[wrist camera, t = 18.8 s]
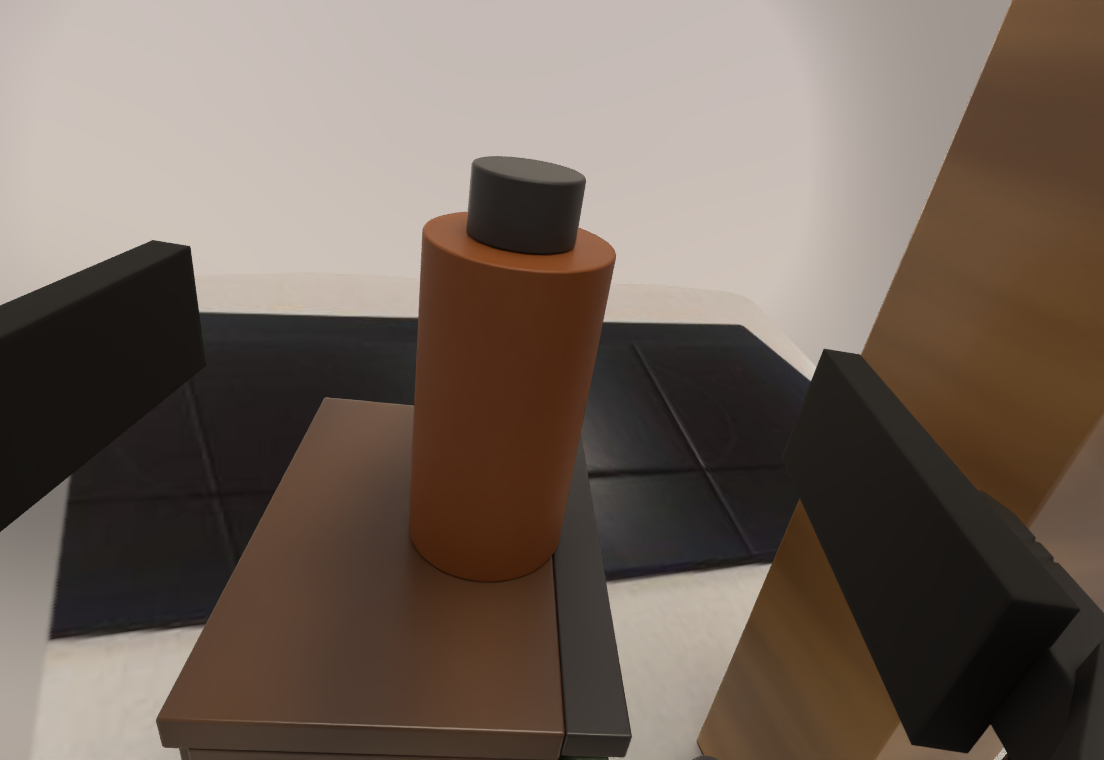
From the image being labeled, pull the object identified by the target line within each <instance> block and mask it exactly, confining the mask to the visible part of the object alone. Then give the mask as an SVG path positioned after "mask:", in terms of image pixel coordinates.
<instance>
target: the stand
mask: <svg viewBox="0 0 1104 760" xmlns="http://www.w3.org/2000/svg"><path fill="white" fill-rule="evenodd" d="M861 356H862V357H863V358H864V359H865V361H866V362H867V363H868V364H869V365H870V366H871V368H872V369H873V370H874V371H875V372H876V373H877V374H878V376H879V377H880V378H881V379H882V380H883V381H884V383H885V384H886V385H887V386H888V387H889V388H890V390H891V391H892V392H893V393H894V394H895V395H896V396H897V398H898V399H899V400H900V401H901V402H902V403H903V405H904V406H905V407H906V408H907V409H908V410H909V411H910V413H911V414H912V415H913V416H914V417H915V418H916V420H917V421H918V422H919V423H920V424H921V425H922V427H923V428H924V429H925V430H926V431H927V432H928V433H929V435H930V436H931V437H932V438H933V439H934V440H935V442H936V443H937V444H938V445H939V446H940V447H941V448H942V450H943V451H944V452H945V453H946V454H947V455H948V457H949V458H950V459H951V460H952V461H953V462H954V464H955V465H956V466H957V467H958V468H959V469H960V470H961V472H962V473H963V474H964V475H965V476H966V477H967V479H968V480H969V481H970V482H971V483H972V484H973V486H974V487H975V488H976V489H977V490H982V491H984V492H986V493H987V494H988V495H990V496H991V497H993V498H994V499H995V500H997V501H998V502H999V503H1001V504H1002V505H1004V506H1005V507H1006V508H1008V509H1009V510H1010V511H1012V512H1013V513H1014V514H1015V515H1016V516H1017V517H1018V518H1019V519H1020V520H1021V521H1022V523H1023V524H1024V525H1025V526H1026V527H1027V528H1028V529H1029V530H1030V531H1031V533H1032V534H1033V535H1034V536H1035V537H1036V539H1035V541H1036V542H1040V543H1041V544H1042V545H1043V546H1044V547H1045V548H1046V549H1047V550H1048V551H1049V553H1050V554H1051V555H1052V556H1053V557H1054V562H1056V563H1059V564H1060V565H1061V566H1062V567H1063V568H1064V569H1065V570H1066V571H1067V572H1068V574H1069V575H1070V576H1071V577H1072V578H1073V579H1074V580H1075V581H1076V582H1077V584H1078V585H1079V586H1080V587H1081V588H1082V589H1083V590H1084V591H1085V592H1086V594H1087V595H1088V596H1089V597H1090V598H1091V599H1092V600H1093V601H1094V602H1095V604H1096V605H1097V606H1098V607H1099V608H1100V609H1101V610H1102V611H1103V612H1104V0H1012V1H1011V3H1010V5H1009V8H1008V10H1007V12H1006V15H1005V17H1004V19H1003V22H1002V24H1001V26H1000V29H999V31H998V34H997V36H996V39H995V41H994V43H993V45H992V48H991V50H990V53H989V55H988V57H987V60H986V62H985V64H984V66H983V69H982V71H981V73H980V76H979V78H978V81H977V83H976V85H975V88H974V90H973V92H972V95H971V97H970V99H969V102H968V104H967V106H966V109H965V111H964V114H963V116H962V118H961V121H960V123H959V125H958V128H957V130H956V132H955V135H954V137H953V140H952V142H951V144H950V146H949V149H948V151H947V153H946V156H945V158H944V161H943V163H942V165H941V168H940V170H939V172H938V175H937V177H936V179H935V182H934V184H933V187H932V189H931V191H930V194H929V196H928V198H927V201H926V203H925V205H924V208H923V210H922V213H921V215H920V217H919V219H918V222H917V224H916V226H915V229H914V231H913V233H912V236H911V238H910V241H909V243H908V245H907V248H906V250H905V253H904V255H903V257H902V259H901V262H900V264H899V266H898V269H897V271H896V273H895V276H894V278H893V280H892V283H891V285H890V288H889V290H888V292H887V295H886V297H885V300H884V302H883V304H882V306H881V309H880V311H879V313H878V316H877V318H876V320H875V323H874V325H873V328H872V330H871V332H870V335H869V337H868V339H867V342H866V344H865V346H864V349H863V351H862V353H861ZM697 742H698V744H699V746H700V748H701V750H702V752H703V754H704V756H712V757H715V758H717V759H719V760H994V758H995V757H996V756H997V755H998V754H999V752H1000V751H1001V750H1002V749H1003V748H1004V747H1003V745H1002V743H1001V741H1000V740H999V738H998V736H997V735H996V733H995V731H994V729H993V728H992V726H991V725H990V726H989V727H988V729H987V730H986V731H985V732H984V734H983V735H982V736H981V738H980V739H979V740H978V741H977V743H976V744H975V745H974V746H973V748H972V749H971V750H970V752H969V753H968V754H966V753H960V752H953V751H947V750H940V749H934V748H927V747H921V746H914V745H911V743H910V741H909V739H908V736H907V734H906V732H905V730H904V727H903V725H902V723H901V721H900V719H899V716H898V714H897V712H896V710H895V708H894V705H893V703H892V701H891V699H890V697H889V694H888V692H887V690H886V688H885V686H884V683H883V681H882V679H881V677H880V674H879V672H878V670H877V668H876V666H875V663H874V661H873V659H872V657H871V655H870V652H869V650H868V648H867V646H866V644H865V641H864V639H863V637H862V635H861V632H860V630H859V628H858V626H857V624H856V621H855V619H854V617H853V615H852V613H851V610H850V608H849V606H848V604H847V602H846V599H845V597H844V595H843V593H842V590H841V588H840V586H839V584H838V582H837V579H836V577H835V575H834V573H833V571H832V568H831V566H830V564H829V562H828V560H827V557H826V555H825V553H824V551H823V549H822V546H821V544H820V542H819V540H818V537H817V535H816V533H815V531H814V529H813V526H812V524H811V522H810V520H809V518H808V515H807V513H806V511H805V509H804V507H803V504H802V502H801V500H800V499H799V502H798V504H797V506H796V509H795V511H794V513H793V516H792V518H791V520H790V523H789V525H788V527H787V530H786V532H785V534H784V537H783V539H782V542H781V544H780V546H779V549H778V551H777V553H776V556H775V558H774V560H773V563H772V565H771V567H770V570H769V572H768V574H767V577H766V579H765V582H764V584H763V586H762V589H761V591H760V593H759V596H758V598H757V600H756V603H755V605H754V607H753V610H752V612H751V614H750V617H749V619H748V622H747V624H746V626H745V629H744V631H743V633H742V636H741V638H740V640H739V643H738V645H737V647H736V650H735V652H734V654H733V657H732V659H731V661H730V664H729V666H728V669H727V671H726V673H725V676H724V678H723V680H722V683H721V685H720V687H719V690H718V692H717V694H716V697H715V699H714V701H713V704H712V706H711V709H710V711H709V713H708V716H707V718H706V720H705V723H704V725H703V727H702V730H701V732H700V734H699V737H698V739H697Z"/></svg>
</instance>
